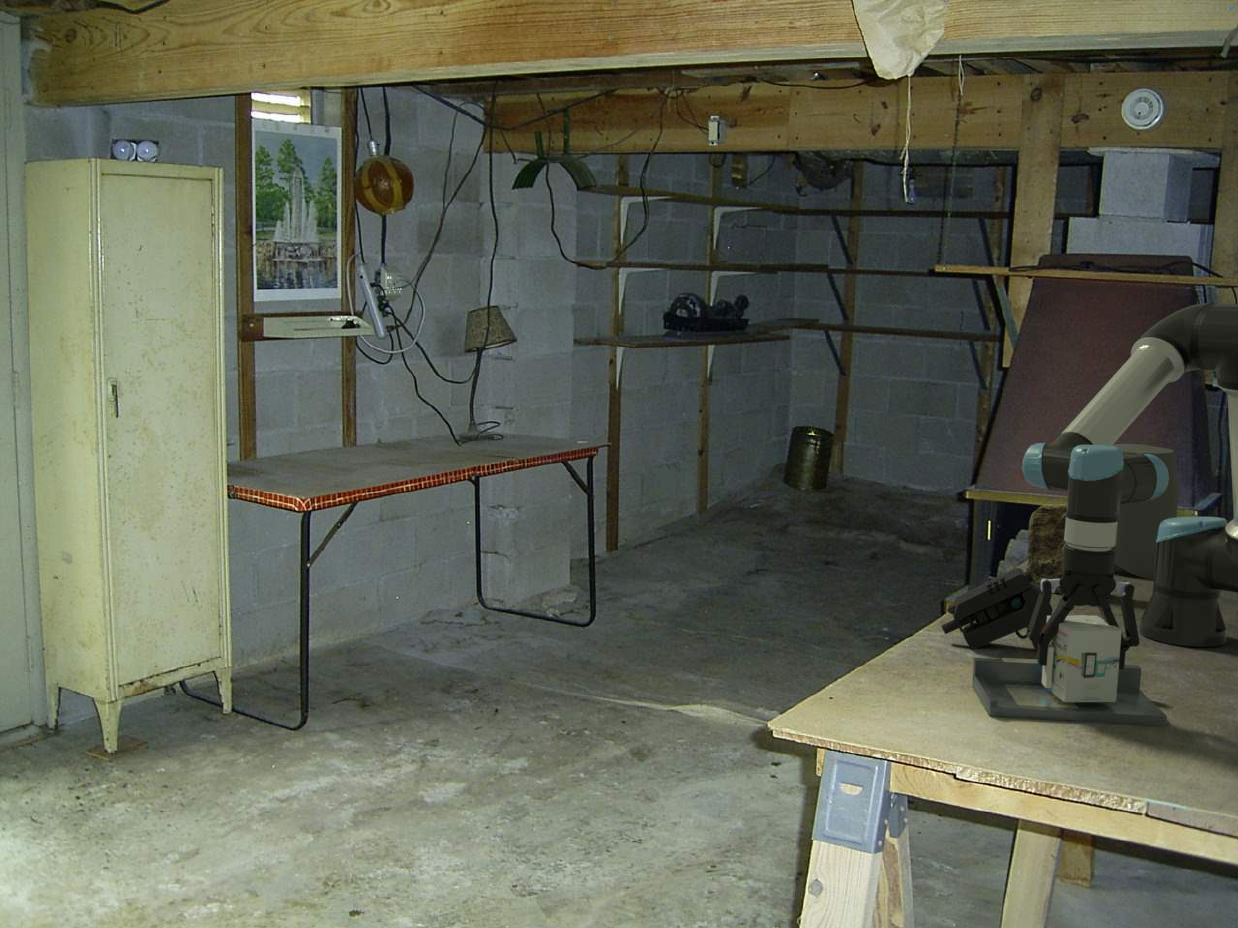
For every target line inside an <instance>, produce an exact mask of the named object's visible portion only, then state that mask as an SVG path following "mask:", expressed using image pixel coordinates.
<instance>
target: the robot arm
mask: <svg viewBox="0 0 1238 928" xmlns="http://www.w3.org/2000/svg"><path fill="white" fill-rule="evenodd" d="M1198 370H1201V371H1210V372H1216V383H1217V387H1218V388H1219V389H1221V390H1222V391H1223V392H1224V393H1225V394H1227V408H1228V427H1229V431H1228V432H1229V445H1230V446H1229V447H1230V464H1231V465H1230V469H1231V483H1232V503H1233V504H1232V505H1233V519H1232V520H1230V521H1229V522H1228V520H1227V519H1226V518H1224V517H1217V516H1180V517H1179V516H1177V518H1170V519H1166V520H1164V521H1163V522H1161V524H1160V526H1159V530H1158V536H1157V540H1156V543H1157V545H1156V558H1155V571H1154V578H1153V586H1152V594H1151V595H1150V598H1149V600H1148V603H1147V605H1146V607H1145V609H1144V611H1143V613H1142V614H1141V615H1142V616H1141V618H1140V623H1139V631H1138V625H1137V619H1136V614H1135V608H1134V601H1133V599H1134V598H1133V597H1134V593H1135V586H1134V584H1132V583H1131V582H1129V581H1128V580H1124V581H1118V580H1117V581H1116V580H1115V575H1114V573H1115V568H1114V567H1115V565H1116V564H1115V551H1114V549H1113V548H1112V547H1114V546H1115V545H1116V542H1117V526H1118V513H1119V505H1121V504H1129V503H1137V502H1140V503H1144V502H1147V501H1148V500H1152V499H1155V498H1157V497H1159V496H1160V495H1162V494H1163V493H1164V491H1165V490H1166V488H1167V486H1168V482H1169V474H1168V470H1167V467H1166V465H1165V464H1164V463H1163V461H1162V460H1161V459H1159V458H1158V457H1156V456H1154V455H1151V454H1141V453H1136V454H1134V455H1128V454H1123V452H1122V450H1121V449H1120V448H1117V447H1113V446H1112V445H1113V444H1116V442H1117V440H1119V438H1120V437H1121V436H1122V435H1123V434H1124V432H1125V431H1126V430H1127V429H1128V428H1129V427H1130V426H1131V425H1132V423H1134V421H1135V420H1136V419H1137V418H1138V417H1139V416H1140V414H1142V412H1144V410H1145V409H1146V407H1147V406H1149V404H1150V403H1151V402H1152V401H1153V400H1154V398H1155V397H1156V396H1157V395H1158V394H1159V393H1160V392H1161V391H1162V389H1163V388H1164V387H1165V386H1166V385H1167V384H1169V383H1174V382H1177V381H1178V380H1179V379H1180V378H1181V377H1182V376H1183V374H1184V373H1187V372H1190V371H1191V372H1192V371H1198ZM1023 455H1024V456H1023V459H1022V466H1021V469H1022V470H1021V471H1022V474H1023V477H1024V479H1025V481H1026V482H1027V484H1029V485H1030V486H1033V487H1036V488H1040V489H1043V490H1048V491H1049V492H1050V491H1055V492H1061V493H1067V504H1066V505H1067V511H1066V523H1065V535H1064V541H1065V542H1067V543H1068V544H1066V545H1065V546H1064V547H1063V559H1062V572H1061V574H1060V576H1059V577H1058V579H1046V578H1041V579H1040V581H1039V584H1040V593H1039V596H1038V599H1037V602H1036V605H1035V608H1034V611H1033V614H1032V617H1031V620H1030V623H1029V626H1028V629H1027V628H1026V634H1025V635H1027V639H1029V641H1030V642H1031V643H1032V642H1036V643H1038V650H1037V651H1036V660H1037V662H1038V663H1039V665H1043V669H1042V684H1043V685H1044V686H1045V687H1046V688H1051V679H1052V666H1053V653H1054V647H1053V646H1052V645H1051V644H1050V642H1051V640H1052V639H1053V637H1054V636H1055V634H1056V633H1057V631H1058V629H1059V623H1063V622H1064V620H1065V618H1066V617H1067V616H1069V613H1070V612H1071V611H1073V610H1074V608H1075V606H1076V607H1083V606H1090V607H1092V608H1093V607H1094V608H1096V607H1097V608H1098V610H1099V612H1100V615H1101V616H1102V619H1103V620H1104V621H1105V622H1106V623H1107V624H1108V625H1113V626H1116V627H1118V628H1120V627H1119V624H1118V622H1117V620H1116V617H1115V615H1114V613H1113V611H1112V607H1111V606H1110V603H1109V600H1107V597H1108V596H1110V594H1111V593H1112V592H1113V591H1114V590H1116V594H1117V595H1119V602H1120V609H1121V615H1122V619H1123V621H1122V622H1123V625H1124V633H1125V637H1124V635H1123V633H1122V632H1121V644H1120V657H1119V669H1123V668H1124V666H1125V665H1126V664H1125V663H1126V653H1127V652H1128V651H1129V649H1130V648H1131V647H1136V648H1137V647H1138V646H1139V645H1140V638H1139V633H1140V634H1142V636H1143V637H1147V638H1149V639H1152V640H1154V641H1157V642H1161V643H1166V644H1170V645H1177V646H1183V647H1196V648H1212V647H1219V646H1220V647H1221V646H1223V645H1225V644H1226V643H1227V637H1228V629H1227V625H1226V620H1225V616H1224V614H1223V610H1222V606H1221V591H1222V592H1226V593H1230V594H1235V595H1238V303H1236V304H1235V303H1229V304H1228V303H1224V304H1223V303H1212V302H1211V303H1209V302H1208V303H1197V304H1193V305H1190V306H1186V307H1184V308H1181V309H1179V310H1177V311H1174V312H1173V313H1171V314H1170V315H1168V316H1166V317H1164V318H1162V319H1161V320H1160V321H1158V322H1157V323H1156V324H1154V325H1153V326H1151V327H1150V328H1149V329H1148V330H1147V331H1145V333H1143V334H1142V335H1141V336H1140V337H1139V338H1138V339H1137V340H1136V341H1135V343H1134V344H1133V345H1132V347H1131V350H1130V357H1129V358H1128V359H1127V360H1126V362H1125V363H1124V364H1123V365H1122V366H1121V367H1120V368H1119V369H1118V370H1117V371H1116V372H1115V374H1114V375H1112V377H1111V378H1110V379H1109V380H1108V381H1107V382H1106V383H1105V384H1104V386H1103V387H1101V389H1100V390H1099V391H1098V392H1097V394H1096V395H1095V396H1093V398H1092V399H1091V400H1090V401H1089V403H1087V405H1086V406H1085V407H1084V408H1083V409H1082V410H1081V411H1080V413H1078V415H1077V416H1076V417H1075V418H1074V419H1073V420H1072V421H1071V422H1070V423H1069V424H1068V425H1067V427H1066V428H1064V430H1063V431H1062V432H1061V433H1060V435H1059V436H1057V437H1056V439H1055V440H1054V441H1053V442H1052V443H1048V442H1037V443H1035V444H1031V445H1030V446H1029V447H1028V448H1027V449H1026V451H1025V453H1024V454H1023ZM1058 586H1060V588H1061V589H1062V591H1063V592H1064V594H1063V595H1061V597H1060V598H1059V602H1058V605H1057V606H1056V607H1055V609H1054V611H1052V615H1051V617H1050V619H1049V620H1048V622H1047V623H1046V625H1045V626H1044V628H1043V630H1042V631H1041V628H1042V625H1043V622H1044V619H1045V616H1046V612H1047V609H1048V606H1049V603H1050V604H1051V601H1052V594H1055V593H1054V592H1055V590H1056V588H1057V587H1058ZM1040 631H1041V633H1040Z"/></svg>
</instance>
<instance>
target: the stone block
mask: <svg viewBox="0 0 1238 928" xmlns="http://www.w3.org/2000/svg"><path fill="white" fill-rule="evenodd" d="M1066 511H1067V504H1064V503H1063V504H1062V503H1061V504H1053V503H1052V504H1051V503H1048V504H1044V505H1043V504H1042V505H1041V506H1039V507H1038V508H1037V509H1036V510H1034V512H1032V514H1031V516H1030V518H1029V523H1028V536H1027V537H1028V539H1027V540H1028V542H1027V543H1028V544H1027V547H1028V548H1027V560H1028V562H1027V567H1026V570H1025V572H1026V571H1029V572H1030V574H1031V576H1032V578H1033V580H1034V581H1032V582H1030V583H1033V584H1036V585H1039V586H1040V584H1039V581H1040V579H1041V578H1046V579H1058V577H1059V576H1060V574H1061V572H1062V559H1063V547H1064V546H1065V545H1066V544H1068V543H1067V542H1065V541H1064V535H1065V523H1066ZM1112 548H1113V549H1114V551H1115V554H1116V549H1115V548H1116V545H1115V546H1114V547H1112ZM1114 569H1115V566H1114ZM1056 593H1059V594H1058V595H1061V594H1064V592H1063V591H1062V589H1061V588H1060V586H1058V587H1057V588H1056V590H1055V592H1054V593H1053V594H1056ZM1107 600H1108V601H1110V600H1111V598H1110V595H1109V596H1108V597H1107Z"/></svg>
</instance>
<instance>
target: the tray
mask: <svg viewBox="0 0 1238 928" xmlns="http://www.w3.org/2000/svg"><path fill="white" fill-rule="evenodd" d="M1042 669H1043V665H1039V663H1038V662H1037V658H1035V659H1031V658H1012V657H1011V658H1009V657H1002V658H987V657H973V666H972V681H971V682H972V683H971V688H972V689H973V691H974V693H975V695H976V697H977V698H978V699H979V701H980V703H981V704H982V706H983V707H984V710H985V711H986V712H987V714H988V716H989V717H992V718H993V717H996V718H1013V719H1014V718H1015V719H1029V720H1031V719H1034V720H1051V721H1052V720H1053V721H1066V722H1067V721H1070V722H1087V723H1089V722H1090V723H1105V724H1122V725H1123V724H1125V725H1126V724H1127V725H1140V726H1141V725H1144V726H1163V727H1166V726H1167V721H1168V720H1167V719H1168V716H1167V715H1166V714H1165V713H1164V711H1162V710H1161V709H1160V708H1159V707H1158V706H1157V705H1156V704H1155V703H1154V702H1153V701H1152V700H1151V699H1150V698H1149V697H1148V696H1147V695H1146V694H1145V693H1144V692H1143V691H1142V690H1141V679H1142V678H1141V677H1142V667H1140V666H1139V665H1131V664H1128V665H1127V664H1125V666H1124V668H1123V669H1119V670H1118V683H1117V696H1116V702H1064V701H1062V700H1061V699H1060V698H1058V697H1057V696H1056V695H1055V694H1053V693H1052V692H1051V691H1049V690H1048V689H1047V688H1046V687H1044V686H1043V685H1042Z"/></svg>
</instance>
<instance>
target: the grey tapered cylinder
mask: <svg viewBox="0 0 1238 928" xmlns="http://www.w3.org/2000/svg"><path fill="white" fill-rule="evenodd" d="M1112 446H1113V447H1117V448H1120V449H1121V450H1122V452H1123V454H1128V455H1134V454H1136V453H1141V454H1151V455H1154V456H1156V457H1158V458H1159V459H1161V460H1162V461H1163V463H1164V464H1165V465H1166V467H1167V470H1168V474H1169V482H1168V486H1167V488H1166V490H1165V491H1164V493H1163V494H1162V495H1160V496H1159V497H1157V498H1155V499H1152V500H1148V501H1147V502H1144V503H1140V502H1137V503H1129V504H1121V505H1119V513H1118V526H1117V542H1116V548H1115V549H1116V554H1115V565H1116V566H1118V567H1119V568H1121V569H1123V570H1125V571H1126V572H1129V573H1130V574H1132V575H1135V576H1137V577H1140V578H1144V579H1154V571H1155V558H1156V545H1157V543H1156V540H1157V536H1158V530H1159V526H1160V524H1161V522H1163V521H1164V520H1166V519H1170V518H1177V517H1178V508H1179V507H1178V506H1179V497H1180V496H1179V485H1178V483H1179V482H1178V475H1177V463H1176V457H1175V451H1174V450H1173V449H1170V448H1166V447H1159V446H1154V445H1147V444H1139V443H1137V444H1136V443H1114V444H1113V445H1112Z"/></svg>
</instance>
